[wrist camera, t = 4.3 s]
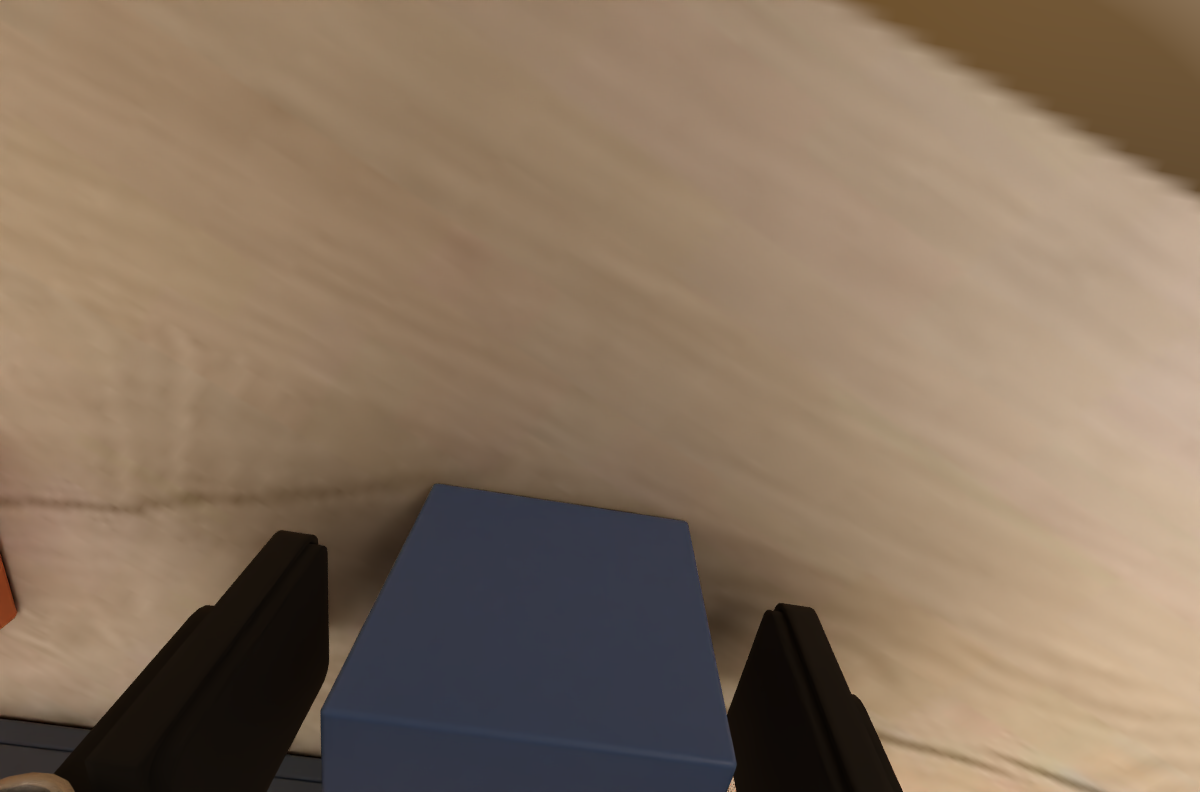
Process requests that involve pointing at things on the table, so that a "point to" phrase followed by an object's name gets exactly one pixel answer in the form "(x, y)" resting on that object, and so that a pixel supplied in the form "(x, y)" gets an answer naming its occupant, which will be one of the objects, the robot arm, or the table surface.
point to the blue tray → (47, 746)
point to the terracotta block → (5, 599)
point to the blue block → (531, 658)
